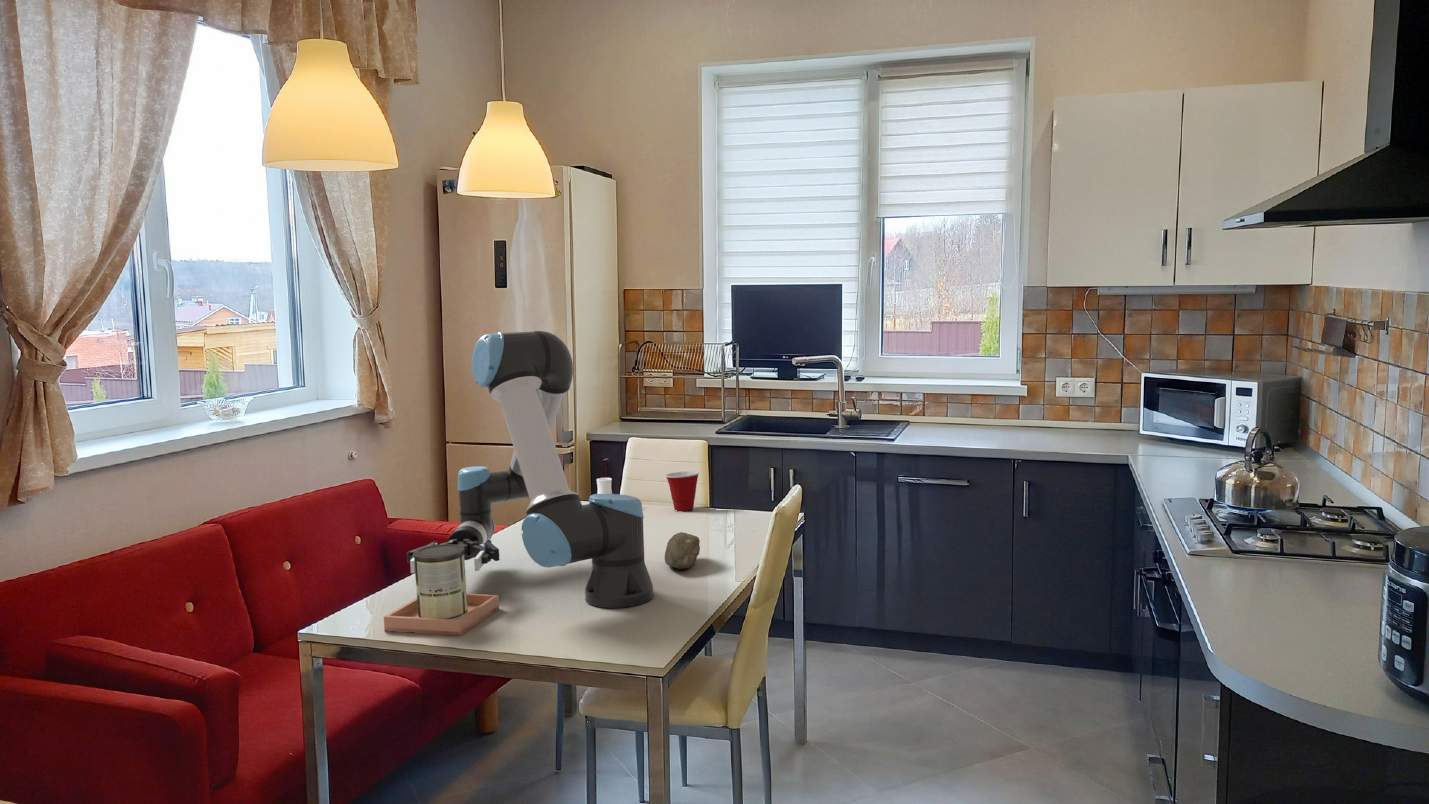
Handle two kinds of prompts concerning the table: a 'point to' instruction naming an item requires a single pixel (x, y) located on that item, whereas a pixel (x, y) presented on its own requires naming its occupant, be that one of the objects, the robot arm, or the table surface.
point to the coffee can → (441, 581)
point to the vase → (604, 485)
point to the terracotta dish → (410, 622)
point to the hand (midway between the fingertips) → (444, 566)
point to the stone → (682, 550)
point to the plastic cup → (683, 489)
